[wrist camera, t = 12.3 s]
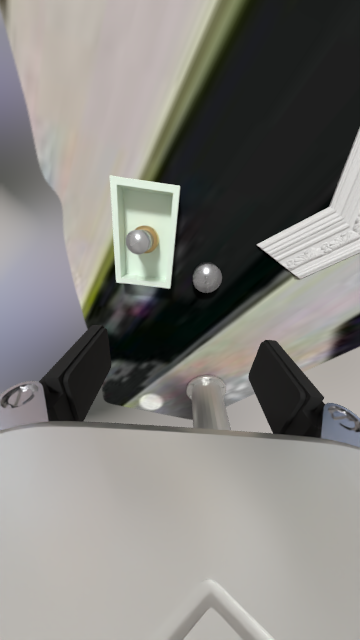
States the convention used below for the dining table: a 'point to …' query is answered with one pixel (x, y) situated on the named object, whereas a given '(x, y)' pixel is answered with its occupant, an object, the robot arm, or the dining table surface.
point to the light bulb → (142, 240)
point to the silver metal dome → (206, 277)
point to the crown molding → (324, 228)
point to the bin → (144, 210)
